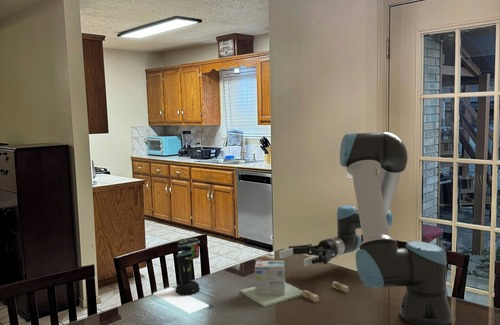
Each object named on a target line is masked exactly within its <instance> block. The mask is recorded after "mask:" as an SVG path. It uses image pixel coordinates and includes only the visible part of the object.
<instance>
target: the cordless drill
mask: <svg viewBox="0 0 500 325" xmlns="http://www.w3.org/2000/svg"><path fill="white" fill-rule="evenodd" d="M200 241H201V240H200V239H199V238H196V237H194V238H190V237H189V238H180V239H178V241H177V243H176V244H177V247H178V249H179V250H181V251H180V252H179V253H177V255H176V258H177V264H178V271H179V279H180V282H181V283H179V284H177V285H176V287H175V294H176V295H179V296H191V295H196V294H197V293H199V292H200V291H201V289H200V284H199V283H198V282H197V281H195V280H192V263H191V262H192V260H195V259H199V257H200V243H201V242H200Z"/></svg>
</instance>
